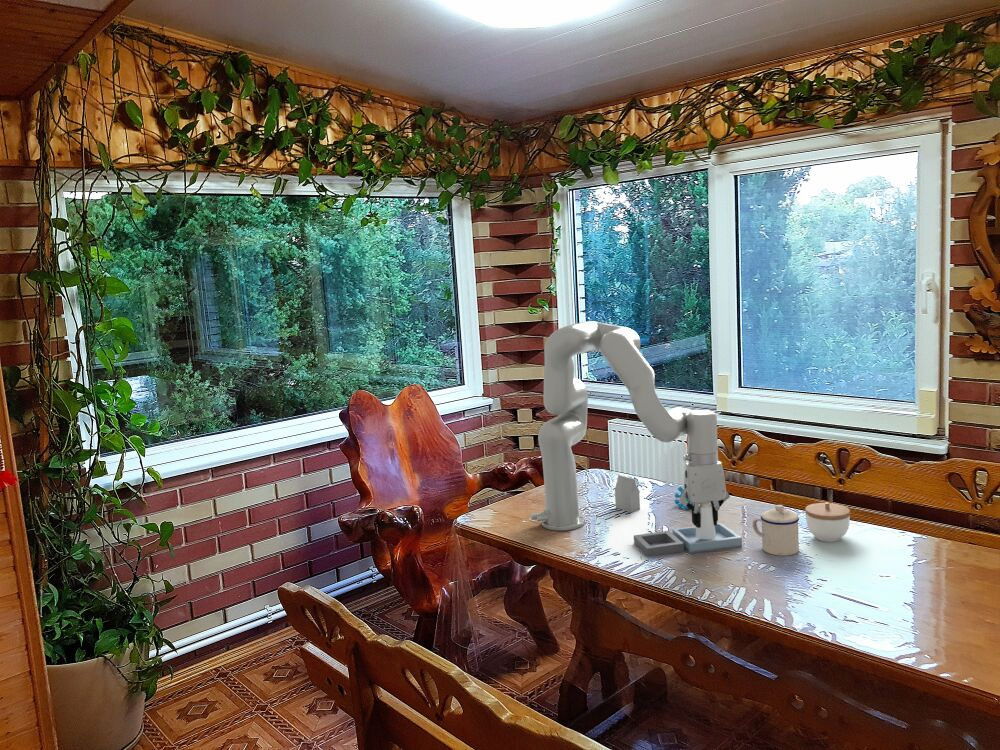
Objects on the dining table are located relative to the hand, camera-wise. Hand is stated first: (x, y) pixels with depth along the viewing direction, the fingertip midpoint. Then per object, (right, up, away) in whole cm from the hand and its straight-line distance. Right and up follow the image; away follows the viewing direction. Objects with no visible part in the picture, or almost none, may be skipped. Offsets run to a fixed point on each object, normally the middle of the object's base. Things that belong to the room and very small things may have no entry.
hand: (705, 524), depth 200 cm
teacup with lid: (+16, -5, -7) cm, 18 cm away
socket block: (-12, -6, 0) cm, 14 cm away
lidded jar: (+31, -3, -2) cm, 32 cm away
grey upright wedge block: (-15, -2, +32) cm, 36 cm away
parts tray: (+1, -5, +1) cm, 5 cm away
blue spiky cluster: (+4, -1, +29) cm, 30 cm away
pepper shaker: (0, -4, 0) cm, 3 cm away
